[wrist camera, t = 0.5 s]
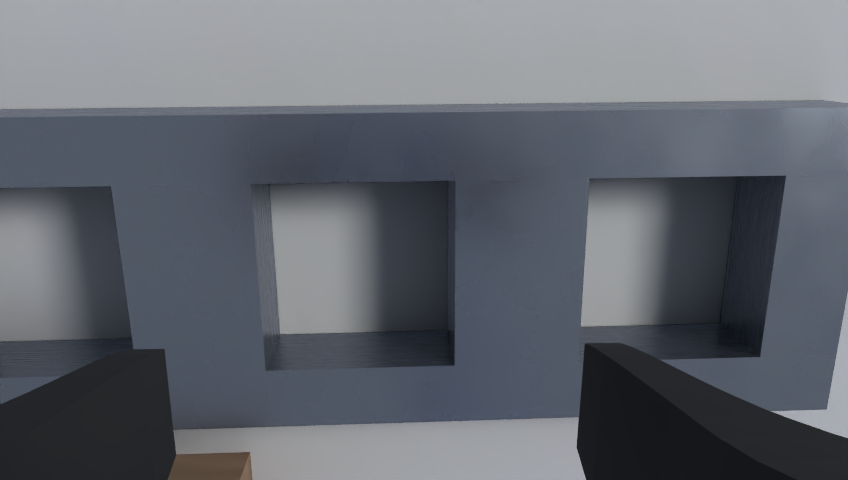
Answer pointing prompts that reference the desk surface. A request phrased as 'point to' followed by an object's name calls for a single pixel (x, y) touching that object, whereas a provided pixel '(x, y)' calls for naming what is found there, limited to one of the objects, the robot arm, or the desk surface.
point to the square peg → (212, 467)
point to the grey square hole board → (467, 251)
